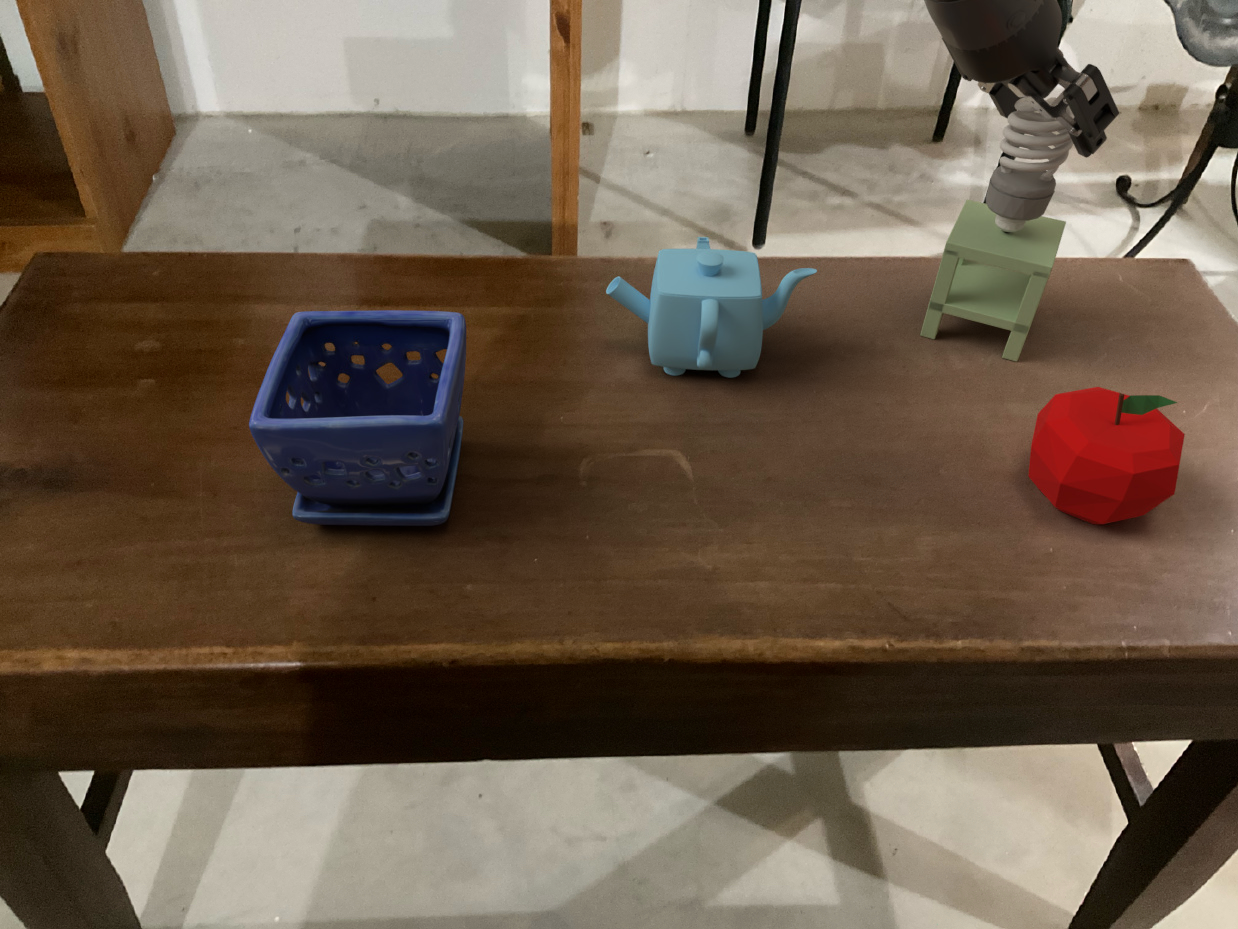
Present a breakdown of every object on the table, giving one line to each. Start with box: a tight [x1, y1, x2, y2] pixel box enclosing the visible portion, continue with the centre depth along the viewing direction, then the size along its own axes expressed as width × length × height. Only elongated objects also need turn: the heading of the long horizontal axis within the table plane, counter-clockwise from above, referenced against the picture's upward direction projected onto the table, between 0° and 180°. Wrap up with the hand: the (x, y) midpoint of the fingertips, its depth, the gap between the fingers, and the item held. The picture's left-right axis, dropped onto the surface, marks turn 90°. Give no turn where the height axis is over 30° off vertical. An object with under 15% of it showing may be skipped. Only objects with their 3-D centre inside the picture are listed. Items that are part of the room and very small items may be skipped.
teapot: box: [605, 236, 818, 379], centre depth 85 cm, size 18×14×10 cm
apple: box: [1027, 386, 1186, 525], centre depth 72 cm, size 11×11×10 cm
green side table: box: [919, 199, 1067, 363], centre depth 89 cm, size 9×9×10 cm
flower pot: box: [248, 309, 467, 527], centre depth 70 cm, size 13×13×12 cm
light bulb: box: [985, 96, 1074, 233], centre depth 81 cm, size 6×6×12 cm
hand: (1052, 127), depth 80 cm, fingers open, 8 cm apart
